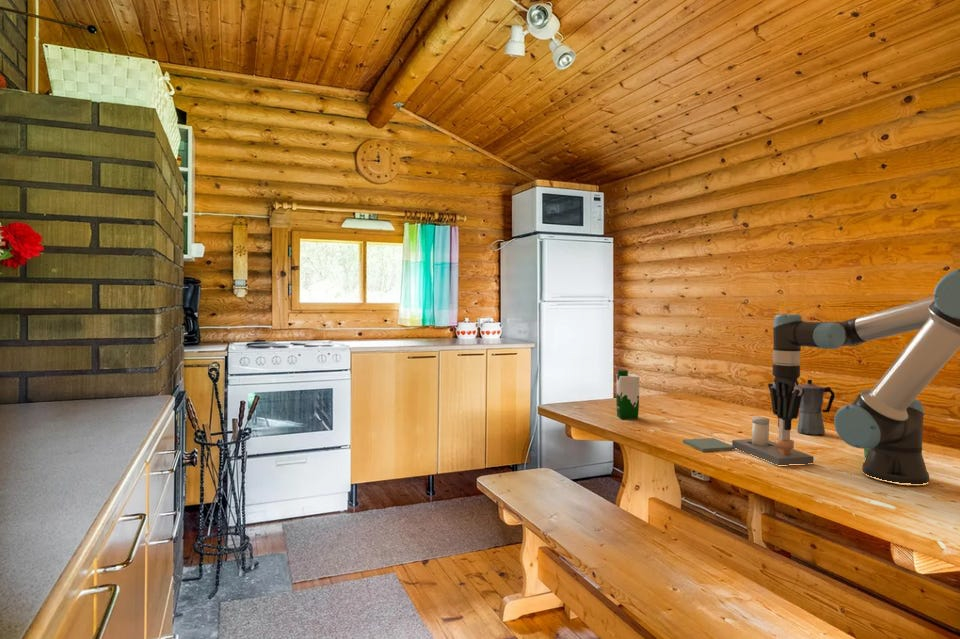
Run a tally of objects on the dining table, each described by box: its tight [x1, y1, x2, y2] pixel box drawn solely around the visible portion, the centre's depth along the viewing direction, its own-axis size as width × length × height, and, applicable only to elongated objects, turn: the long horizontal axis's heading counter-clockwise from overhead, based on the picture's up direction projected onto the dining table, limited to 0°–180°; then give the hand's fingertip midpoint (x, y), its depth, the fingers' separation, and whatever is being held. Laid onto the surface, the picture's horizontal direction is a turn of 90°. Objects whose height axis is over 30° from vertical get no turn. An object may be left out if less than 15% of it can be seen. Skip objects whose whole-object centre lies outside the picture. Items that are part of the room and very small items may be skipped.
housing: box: [731, 438, 815, 465], centre depth 178 cm, size 22×12×2 cm, turn 11°
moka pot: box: [797, 379, 836, 436], centre depth 207 cm, size 10×15×20 cm, turn 33°
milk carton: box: [615, 369, 640, 420], centre depth 234 cm, size 9×9×20 cm
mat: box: [682, 437, 736, 453], centre depth 190 cm, size 12×12×1 cm
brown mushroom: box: [775, 437, 795, 455], centre depth 173 cm, size 5×5×6 cm
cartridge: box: [751, 416, 770, 447], centre depth 183 cm, size 5×5×11 cm
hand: (784, 439), depth 172 cm, fingers closed
